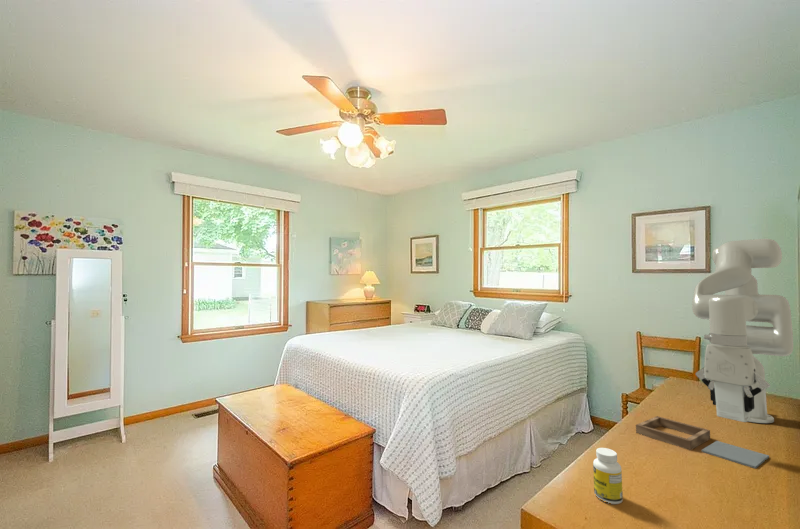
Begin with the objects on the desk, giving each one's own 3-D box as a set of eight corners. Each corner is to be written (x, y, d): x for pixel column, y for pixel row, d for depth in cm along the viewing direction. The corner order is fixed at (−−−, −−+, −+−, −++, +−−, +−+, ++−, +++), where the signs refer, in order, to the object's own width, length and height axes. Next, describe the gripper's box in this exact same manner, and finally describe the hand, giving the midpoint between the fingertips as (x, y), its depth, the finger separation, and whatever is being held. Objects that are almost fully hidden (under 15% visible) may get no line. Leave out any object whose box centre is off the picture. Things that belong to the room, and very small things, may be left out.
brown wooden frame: (657, 423, 120) (657, 416, 120) (710, 438, 108) (709, 430, 109) (636, 433, 113) (635, 424, 113) (690, 450, 101) (690, 441, 101)
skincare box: (750, 420, 98) (747, 374, 98) (745, 423, 95) (742, 376, 96) (720, 413, 103) (718, 370, 103) (715, 416, 100) (712, 372, 101)
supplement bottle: (588, 491, 81) (587, 446, 82) (611, 490, 82) (610, 445, 82) (604, 506, 76) (602, 457, 77) (628, 504, 76) (626, 456, 77)
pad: (716, 442, 106) (716, 440, 106) (769, 457, 97) (769, 455, 97) (701, 451, 100) (701, 449, 100) (755, 468, 91) (755, 466, 91)
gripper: (685, 338, 106) (688, 401, 104) (767, 346, 91) (772, 420, 90) (695, 336, 109) (698, 397, 108) (776, 344, 95) (780, 414, 94)
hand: (732, 406), depth 99 cm, fingers closed on skincare box, 6 cm apart
